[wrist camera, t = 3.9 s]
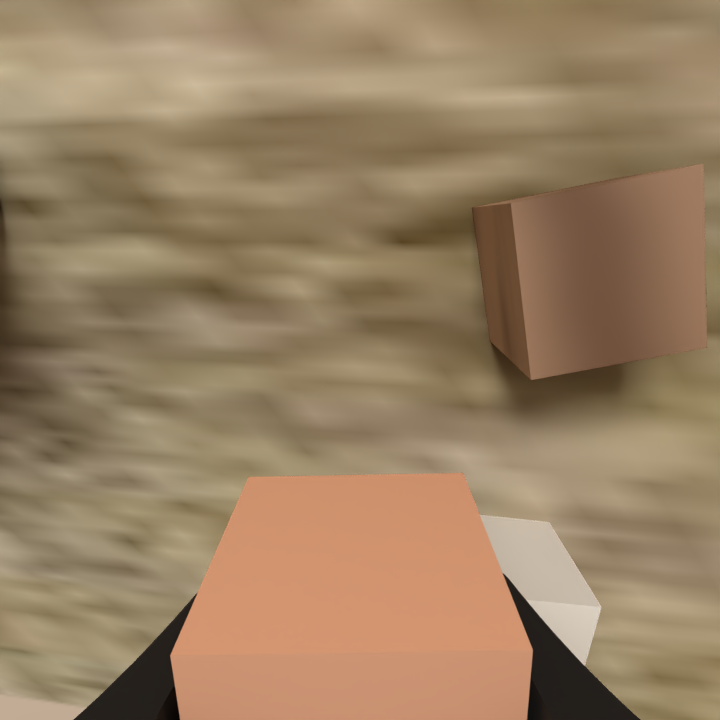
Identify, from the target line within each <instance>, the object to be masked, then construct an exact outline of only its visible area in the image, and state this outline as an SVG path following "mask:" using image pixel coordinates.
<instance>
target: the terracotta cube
mask: <svg viewBox="0 0 720 720" xmlns="http://www.w3.org/2000/svg"><path fill="white" fill-rule="evenodd" d="M532 655H533V649H532V646H531V644H530V641H529V639H528V636H527V634H526V631H525V629H524V626H523V624H522V621H521V619H520V616H519V613H518V611H517V608H516V606H515V603H514V601H513V598H512V596H511V593H510V591H509V588H508V586H507V583H506V581H505V578H504V575H503V573H502V570H501V568H500V565H499V563H498V560H497V558H496V555H495V553H494V550H493V548H492V545H491V543H490V540H489V537H488V535H487V532H486V530H485V527H484V525H483V522H482V520H481V517H480V515H479V512H478V510H477V507H476V505H475V502H474V499H473V497H472V494H471V492H470V489H469V487H468V484H467V482H466V479H465V477H464V474H463V473H442V474H388V475H334V476H280V477H248V479H247V482H246V484H245V486H244V488H243V491H242V493H241V495H240V498H239V500H238V502H237V504H236V507H235V509H234V511H233V514H232V516H231V518H230V520H229V523H228V525H227V527H226V530H225V532H224V534H223V536H222V539H221V541H220V543H219V545H218V548H217V550H216V552H215V555H214V557H213V559H212V561H211V564H210V566H209V568H208V571H207V573H206V575H205V577H204V580H203V582H202V584H201V587H200V589H199V591H198V593H197V596H196V598H195V600H194V602H193V605H192V607H191V609H190V612H189V614H188V616H187V618H186V621H185V623H184V625H183V628H182V630H181V632H180V634H179V637H178V639H177V641H176V644H175V646H174V648H173V650H172V653H171V655H170V657H171V663H172V670H173V676H174V683H175V689H176V696H177V702H178V709H179V715H180V720H527V713H528V702H529V690H530V678H531V667H532Z"/></svg>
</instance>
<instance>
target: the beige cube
mask: <svg viewBox="0 0 720 720" xmlns="http://www.w3.org/2000/svg"><path fill="white" fill-rule="evenodd" d="M480 517H481V520H482V522H483V525H484V527H485V530H486V532H487V535H488V537H489V540H490V543H491V545H492V548H493V550H494V553H495V555H496V558H497V560H498V563H499V565H500V568H501V570H502V573H504V574H505V575H506V576H507V577H508V578H509V579H510V581H511V582H512V583H513V584H514V586H515V587H516V588H517V589H518V591H519V592H520V593H521V594H522V596H523V597H524V598H525V599H526V600H527V602H528V603H529V604H530V605H531V606H532V608H533V609H534V610H535V611H536V612H537V614H538V615H539V616H540V617H541V618H542V619H543V621H544V622H545V623H546V624H547V625H548V626H549V628H550V629H551V630H552V631H553V632H554V633H555V634H556V635H557V637H558V638H559V639H560V640H561V641H562V642H563V643H564V644H565V645H566V646H567V647H568V649H569V650H570V651H571V652H572V653H573V654H574V655H575V656H576V657H577V658H578V659H579V661H580V662H581V663H582V664H583V665H584V666H585V663H586V660H587V656H588V653H589V649H590V646H591V642H592V639H593V635H594V632H595V628H596V625H597V621H598V618H599V614H600V611H601V605H600V604H599V602H598V601H597V599H596V597H595V596H594V594H593V592H592V591H591V589H590V588H589V586H588V584H587V583H586V581H585V579H584V578H583V576H582V575H581V573H580V571H579V570H578V568H577V566H576V565H575V563H574V562H573V560H572V558H571V557H570V555H569V554H568V552H567V550H566V549H565V547H564V545H563V544H562V542H561V541H560V539H559V537H558V536H557V534H556V532H555V531H554V529H553V528H552V526H551V524H550V523H549V522H544V521H535V520H525V519H515V518H505V517H496V516H486V515H480Z"/></svg>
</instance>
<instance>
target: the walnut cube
mask: <svg viewBox="0 0 720 720" xmlns="http://www.w3.org/2000/svg"><path fill="white" fill-rule="evenodd" d="M472 211H473V218H474V226H475V233H476V241H477V248H478V256H479V263H480V271H481V278H482V286H483V293H484V301H485V308H486V315H487V323H488V330H489V338H490V342H491V343H493V344H494V345H495V346H496V347H497V348H498V349H499V350H500V351H501V352H502V353H503V354H504V355H505V356H506V357H507V358H508V359H509V360H510V361H511V362H513V363H514V364H515V365H516V366H517V367H518V368H519V369H520V370H521V371H522V372H523V373H524V374H525V375H526V376H527V377H528V378H529V379H530V380H535V379H540V378H545V377H551V376H556V375H562V374H567V373H573V372H578V371H583V370H589V369H594V368H600V367H605V366H611V365H616V364H622V363H627V362H632V361H638V360H643V359H649V358H654V357H660V356H665V355H670V354H676V353H681V352H687V351H692V350H698V349H703V348H707V322H706V264H705V207H704V164H699V165H693V166H687V167H681V168H675V169H669V170H663V171H657V172H651V173H645V174H639V175H633V176H627V177H621V178H614V179H609V180H604V181H600V182H595V183H590V184H585V185H580V186H575V187H570V188H565V189H561V190H556V191H551V192H546V193H541V194H536V195H531V196H526V197H521V198H517V199H512V200H507V201H502V202H497V203H492V204H487V205H482V206H478V207H473V208H472Z"/></svg>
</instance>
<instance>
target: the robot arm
mask: <svg viewBox="0 0 720 720" xmlns="http://www.w3.org/2000/svg"><path fill="white" fill-rule="evenodd" d="M503 575H504V578H505V581H506V583H507V586H508V588H509V591H510V593H511V596H512V598H513V601H514V603H515V606H516V608H517V611H518V613H519V616H520V619H521V621H522V624H523V626H524V629H525V631H526V634H527V636H528V639H529V641H530V644H531V646H532V649H533V655H532V667H531V678H530V690H529V702H528V713H527V720H640V719H639V718H638V717H637V716H636V715H634V714H633V713H632V712H631V711H630V710H629V709H628V708H627V707H626V706H625V705H624V704H623V703H622V702H620V701H619V700H618V699H617V698H616V697H615V696H614V695H613V694H612V693H611V692H610V691H609V690H608V689H607V688H606V687H605V686H604V685H603V684H602V683H601V682H600V681H599V680H598V679H597V678H596V677H595V676H594V675H593V674H592V673H591V672H590V671H589V670H588V669H587V668H586V667H585V666H584V665H583V664H582V663H581V662H580V661H579V659H578V658H577V657H576V656H575V655H574V654H573V653H572V652H571V651H570V650H569V649H568V647H567V646H566V645H565V644H564V643H563V642H562V641H561V640H560V639H559V638H558V637H557V635H556V634H555V633H554V632H553V631H552V630H551V629H550V628H549V626H548V625H547V624H546V623H545V622H544V621H543V619H542V618H541V617H540V616H539V615H538V614H537V612H536V611H535V610H534V609H533V608H532V606H531V605H530V604H529V603H528V602H527V600H526V599H525V598H524V597H523V596H522V594H521V593H520V592H519V591H518V589H517V588H516V587H515V586H514V584H513V583H512V582H511V581H510V579H509V578H508V577H507V576H506V575H505V574H504V573H503ZM196 596H197V594H196V595H195V596H194V597H193V598H192V599H191V601H190V602H189V603H188V604H187V605H186V606H185V607H184V609H183V610H182V611H181V612H180V613H179V614H178V615H177V616H176V618H175V619H174V620H173V621H172V622H171V623H170V624H169V625H168V626H167V628H166V629H165V630H164V631H163V632H162V633H161V634H160V635H159V636H158V637H157V638H156V639H155V640H154V641H153V643H152V644H151V645H150V646H149V647H148V648H147V649H146V650H145V651H144V652H143V653H142V654H141V655H140V656H139V657H138V658H137V660H136V661H135V662H134V663H133V664H132V665H131V666H130V667H128V668H127V669H126V670H125V671H124V672H123V673H122V674H121V675H120V676H119V677H118V678H117V679H116V680H115V681H114V682H113V683H112V684H111V685H110V686H109V687H108V688H107V689H106V690H105V691H104V692H103V693H102V694H101V695H100V696H99V697H98V698H97V699H96V700H95V701H94V702H92V703H91V704H90V705H89V706H88V707H87V708H86V709H85V710H84V711H83V712H82V713H81V714H79V715H78V716H77V717H76V718H75V719H74V720H180V715H179V709H178V702H177V696H176V689H175V683H174V676H173V670H172V663H171V657H170V655H171V653H172V650H173V648H174V646H175V644H176V641H177V639H178V637H179V634H180V632H181V630H182V628H183V625H184V623H185V621H186V618H187V616H188V614H189V612H190V609H191V607H192V605H193V602H194V600H195V598H196Z"/></svg>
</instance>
